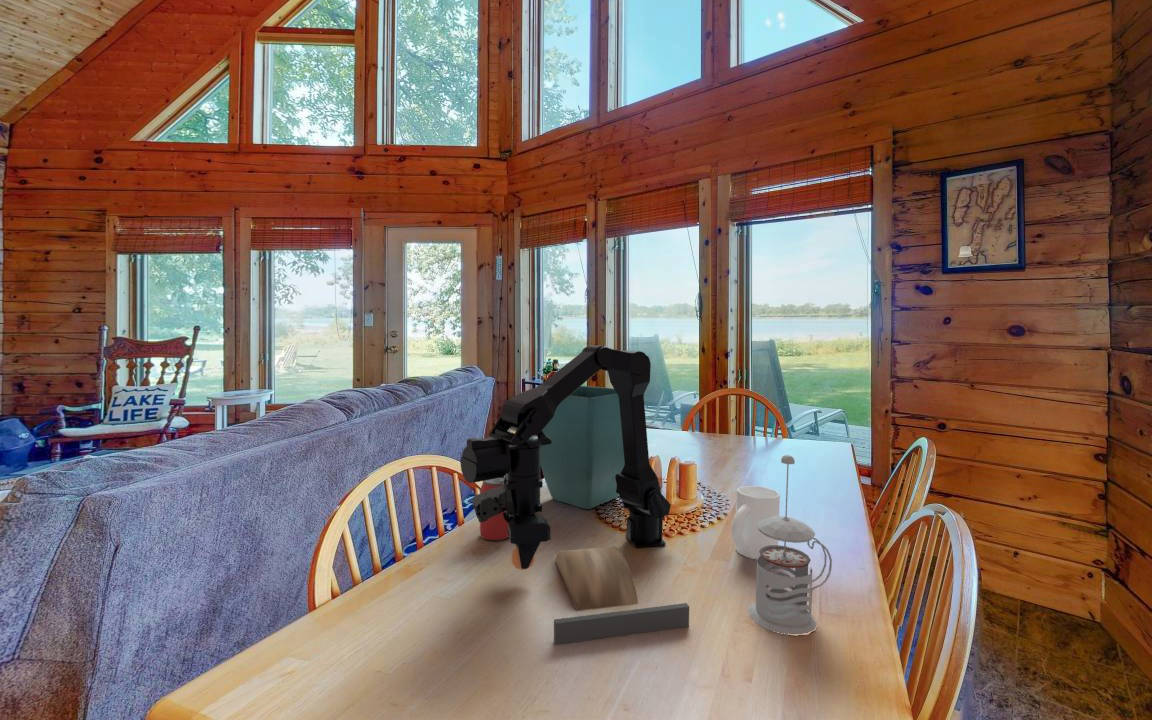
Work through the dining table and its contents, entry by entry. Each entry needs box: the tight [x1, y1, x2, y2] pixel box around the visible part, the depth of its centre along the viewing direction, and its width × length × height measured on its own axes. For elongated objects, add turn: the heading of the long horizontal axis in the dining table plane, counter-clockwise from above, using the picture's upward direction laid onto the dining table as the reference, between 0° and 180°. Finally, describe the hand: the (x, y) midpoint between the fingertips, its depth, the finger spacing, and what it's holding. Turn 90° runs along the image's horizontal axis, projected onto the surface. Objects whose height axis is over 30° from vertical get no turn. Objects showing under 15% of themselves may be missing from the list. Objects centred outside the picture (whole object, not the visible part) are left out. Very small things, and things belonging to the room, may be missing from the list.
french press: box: [748, 454, 833, 634], centre depth 76 cm, size 10×12×25 cm
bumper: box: [553, 602, 690, 645], centre depth 72 cm, size 20×1×3 cm, turn 104°
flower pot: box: [540, 385, 625, 510], centre depth 129 cm, size 20×20×28 cm
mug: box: [731, 485, 781, 561], centre depth 98 cm, size 8×12×12 cm
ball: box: [510, 546, 536, 571], centre depth 85 cm, size 4×4×4 cm
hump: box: [554, 546, 639, 612], centre depth 87 cm, size 10×22×22 cm, turn 14°
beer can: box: [479, 476, 509, 542], centre depth 105 cm, size 7×7×12 cm
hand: (523, 562), depth 86 cm, fingers closed on ball, 4 cm apart
